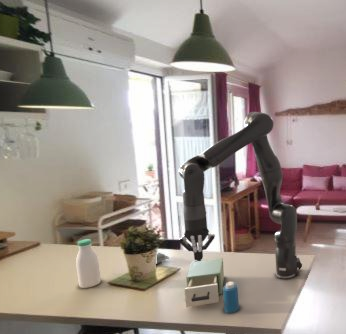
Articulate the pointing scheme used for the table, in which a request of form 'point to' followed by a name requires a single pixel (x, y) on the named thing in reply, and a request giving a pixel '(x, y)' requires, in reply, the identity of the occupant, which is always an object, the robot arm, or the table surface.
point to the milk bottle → (87, 265)
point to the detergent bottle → (230, 297)
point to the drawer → (202, 291)
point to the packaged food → (161, 257)
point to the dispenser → (207, 270)
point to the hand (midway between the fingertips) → (198, 260)
